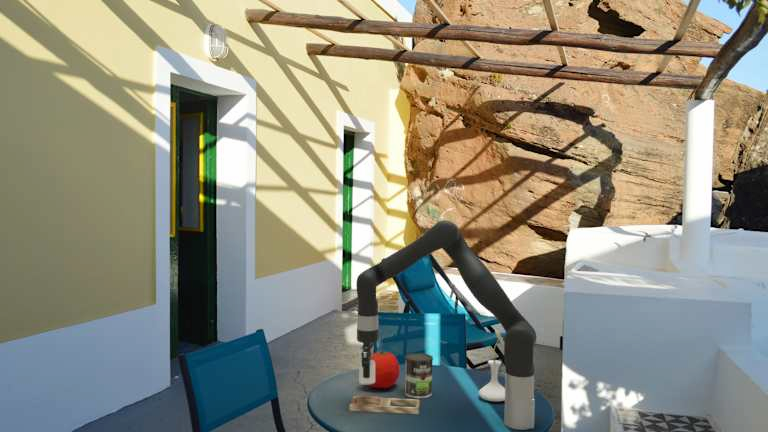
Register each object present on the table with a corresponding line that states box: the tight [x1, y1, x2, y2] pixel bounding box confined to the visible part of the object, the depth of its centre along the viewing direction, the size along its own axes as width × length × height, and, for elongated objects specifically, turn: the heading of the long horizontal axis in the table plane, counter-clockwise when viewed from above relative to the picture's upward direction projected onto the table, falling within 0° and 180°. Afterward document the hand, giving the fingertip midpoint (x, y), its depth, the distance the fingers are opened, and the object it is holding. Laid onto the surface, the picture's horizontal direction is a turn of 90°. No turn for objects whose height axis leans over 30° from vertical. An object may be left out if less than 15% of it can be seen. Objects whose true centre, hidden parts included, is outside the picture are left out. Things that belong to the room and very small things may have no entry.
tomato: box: [367, 348, 400, 389], centre depth 234 cm, size 16×14×14 cm
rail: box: [348, 395, 421, 415], centre depth 213 cm, size 24×8×2 cm, turn 84°
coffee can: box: [404, 352, 434, 399], centre depth 228 cm, size 10×10×14 cm
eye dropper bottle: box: [358, 357, 375, 386], centre depth 213 cm, size 4×6×12 cm
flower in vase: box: [477, 329, 505, 402], centre depth 224 cm, size 13×11×25 cm
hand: (367, 375), depth 213 cm, fingers closed on eye dropper bottle, 4 cm apart
